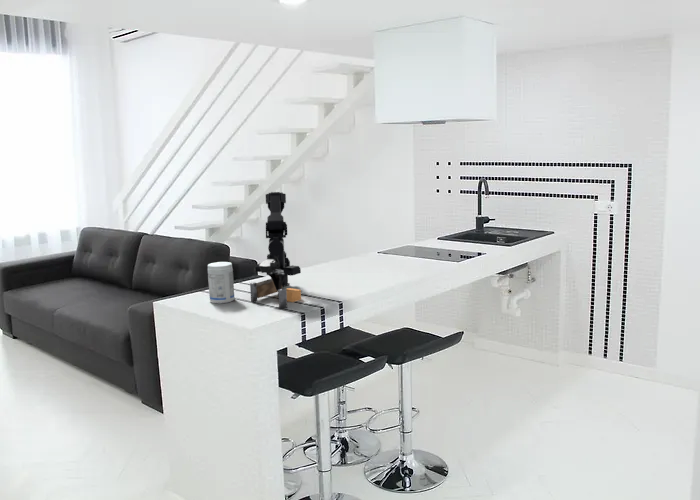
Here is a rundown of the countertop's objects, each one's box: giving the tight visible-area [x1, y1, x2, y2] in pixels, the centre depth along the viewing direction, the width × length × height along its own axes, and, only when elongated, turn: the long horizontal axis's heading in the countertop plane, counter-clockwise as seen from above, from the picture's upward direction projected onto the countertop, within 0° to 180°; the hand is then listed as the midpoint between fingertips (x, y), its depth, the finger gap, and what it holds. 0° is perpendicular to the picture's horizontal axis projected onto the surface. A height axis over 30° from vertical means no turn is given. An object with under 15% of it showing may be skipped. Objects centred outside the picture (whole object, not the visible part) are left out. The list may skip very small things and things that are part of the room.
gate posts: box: [249, 282, 288, 310], centre depth 247 cm, size 19×3×7 cm, turn 48°
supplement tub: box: [207, 261, 235, 304], centre depth 254 cm, size 10×10×15 cm
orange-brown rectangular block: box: [285, 287, 302, 303], centre depth 254 cm, size 6×5×4 cm
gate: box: [255, 278, 283, 299], centre depth 260 cm, size 15×1×6 cm, turn 148°
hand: (278, 290), depth 257 cm, fingers closed
